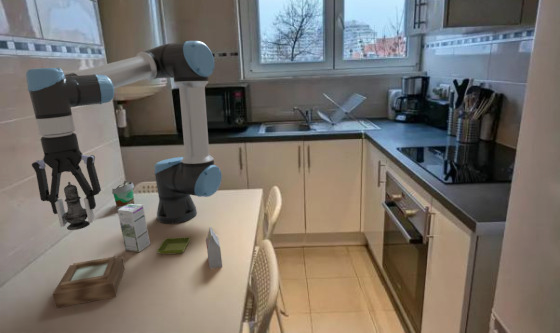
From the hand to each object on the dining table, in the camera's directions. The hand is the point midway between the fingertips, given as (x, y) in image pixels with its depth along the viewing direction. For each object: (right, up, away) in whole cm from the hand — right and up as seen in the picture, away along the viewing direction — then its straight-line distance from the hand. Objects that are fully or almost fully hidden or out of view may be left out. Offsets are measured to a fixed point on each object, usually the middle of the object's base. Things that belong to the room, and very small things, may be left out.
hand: (78, 222), depth 93 cm
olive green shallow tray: (+18, -13, +24) cm, 33 cm away
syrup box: (+5, -12, +26) cm, 29 cm away
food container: (-14, -3, +64) cm, 66 cm away
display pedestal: (+1, -18, +5) cm, 19 cm away
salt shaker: (0, -1, 0) cm, 1 cm away
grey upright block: (+33, -14, +14) cm, 38 cm away
